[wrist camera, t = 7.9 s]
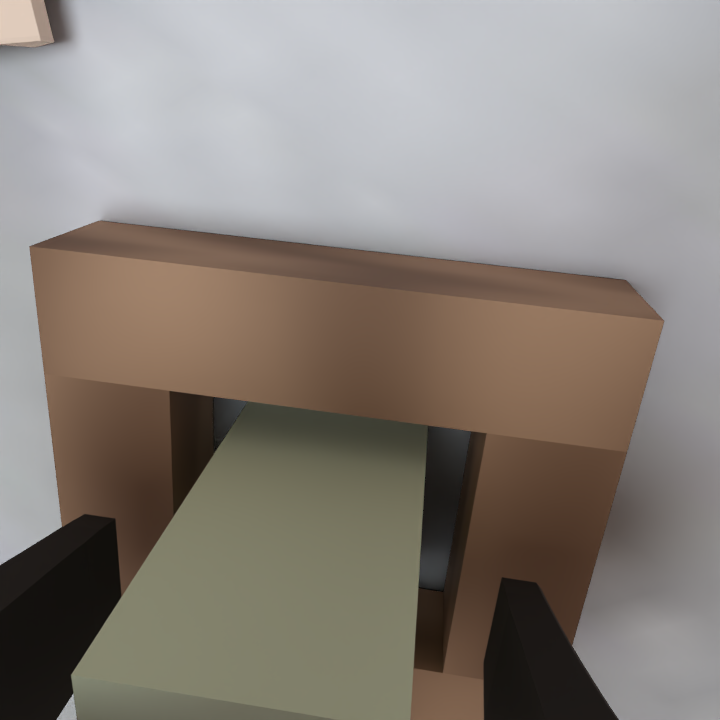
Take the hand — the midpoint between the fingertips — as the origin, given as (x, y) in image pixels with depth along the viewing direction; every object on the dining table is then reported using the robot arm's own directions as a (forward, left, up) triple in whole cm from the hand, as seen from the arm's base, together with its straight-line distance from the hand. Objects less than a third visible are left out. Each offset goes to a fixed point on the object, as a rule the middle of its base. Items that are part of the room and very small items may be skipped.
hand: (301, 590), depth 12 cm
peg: (0, 0, -4) cm, 4 cm away
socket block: (0, 0, -4) cm, 4 cm away
